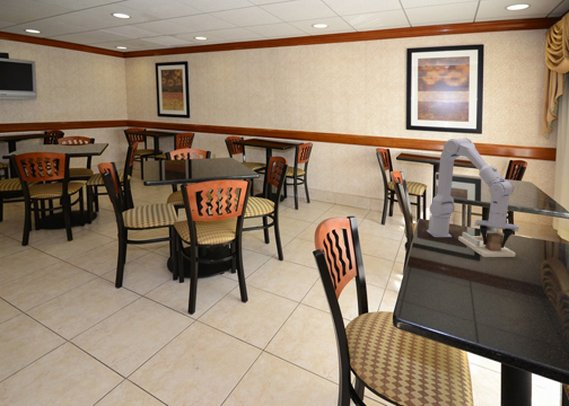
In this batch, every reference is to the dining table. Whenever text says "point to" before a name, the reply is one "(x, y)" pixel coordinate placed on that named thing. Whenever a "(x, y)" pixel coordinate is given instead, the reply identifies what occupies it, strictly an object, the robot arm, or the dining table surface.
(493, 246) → the walnut block
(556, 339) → the dining table surface
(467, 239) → the channel
